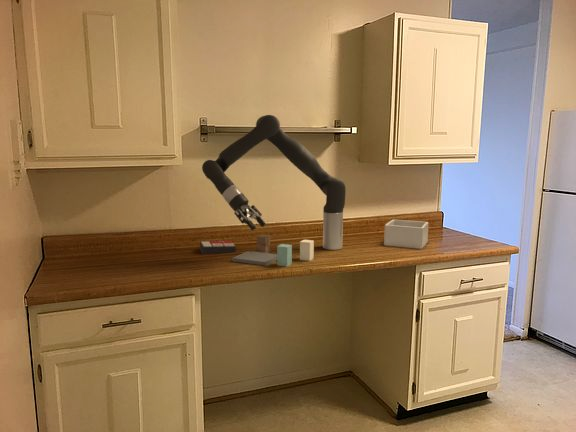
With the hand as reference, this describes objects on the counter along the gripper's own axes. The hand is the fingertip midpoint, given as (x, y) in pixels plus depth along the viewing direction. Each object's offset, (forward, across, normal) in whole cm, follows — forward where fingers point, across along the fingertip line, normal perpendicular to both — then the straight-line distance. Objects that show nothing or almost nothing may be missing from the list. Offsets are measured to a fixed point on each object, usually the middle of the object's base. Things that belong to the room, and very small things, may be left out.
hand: (259, 227), depth 196 cm
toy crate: (+45, +62, -25) cm, 81 cm away
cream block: (+22, +12, -1) cm, 25 cm away
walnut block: (+7, +14, +14) cm, 21 cm away
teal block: (+19, 0, +2) cm, 19 cm away
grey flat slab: (+9, +2, +12) cm, 15 cm away
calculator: (-8, +9, +30) cm, 32 cm away
